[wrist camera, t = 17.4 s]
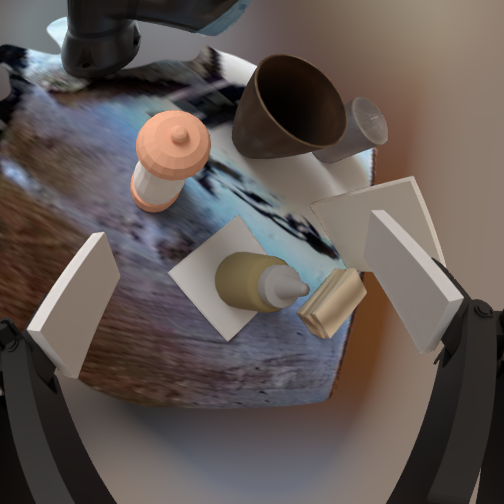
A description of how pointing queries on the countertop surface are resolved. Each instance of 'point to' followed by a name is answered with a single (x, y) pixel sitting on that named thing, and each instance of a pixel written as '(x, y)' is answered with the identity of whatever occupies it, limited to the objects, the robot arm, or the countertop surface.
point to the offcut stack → (332, 302)
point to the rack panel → (358, 214)
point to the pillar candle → (357, 131)
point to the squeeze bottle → (258, 282)
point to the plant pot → (288, 110)
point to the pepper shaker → (167, 158)
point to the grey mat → (203, 276)
